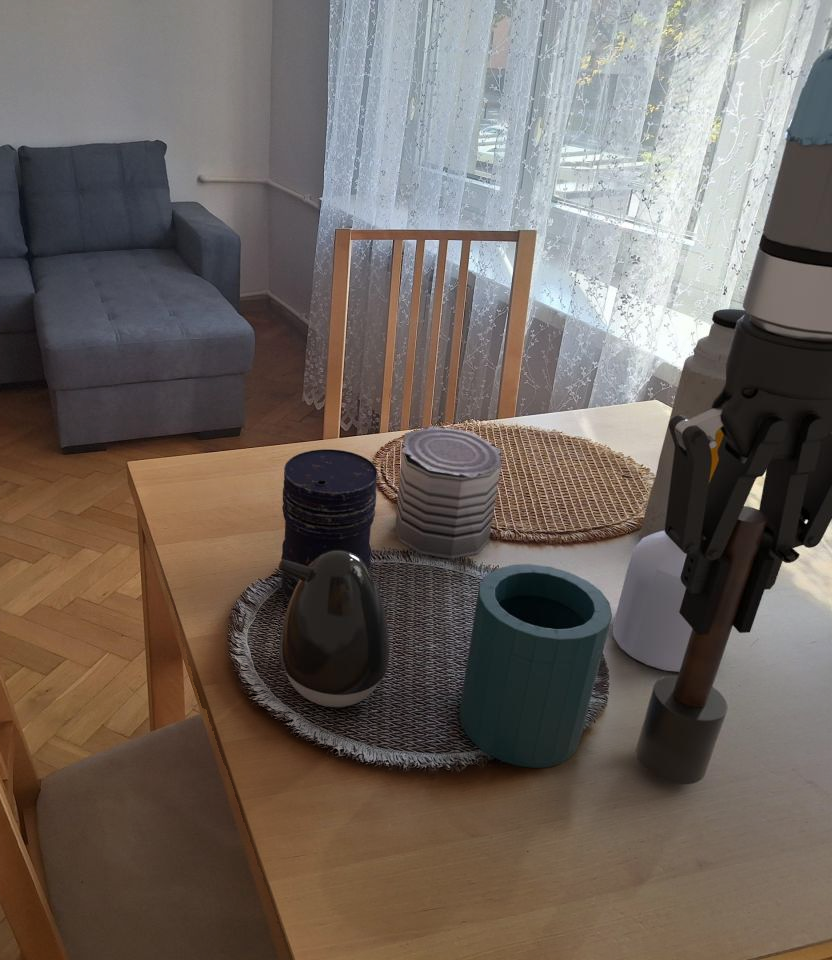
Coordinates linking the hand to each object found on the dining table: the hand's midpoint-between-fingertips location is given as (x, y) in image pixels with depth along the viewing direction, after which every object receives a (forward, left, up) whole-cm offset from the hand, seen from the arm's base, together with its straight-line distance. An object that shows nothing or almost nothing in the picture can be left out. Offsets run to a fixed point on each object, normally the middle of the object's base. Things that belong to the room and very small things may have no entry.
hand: (714, 621), depth 65 cm
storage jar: (+24, -28, -16) cm, 40 cm away
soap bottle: (-8, -16, -16) cm, 24 cm away
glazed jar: (+10, -6, -16) cm, 20 cm away
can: (+8, -38, -16) cm, 42 cm away
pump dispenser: (+26, -12, -16) cm, 33 cm away
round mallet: (0, 0, -15) cm, 15 cm away
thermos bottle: (-19, -34, -16) cm, 42 cm away
